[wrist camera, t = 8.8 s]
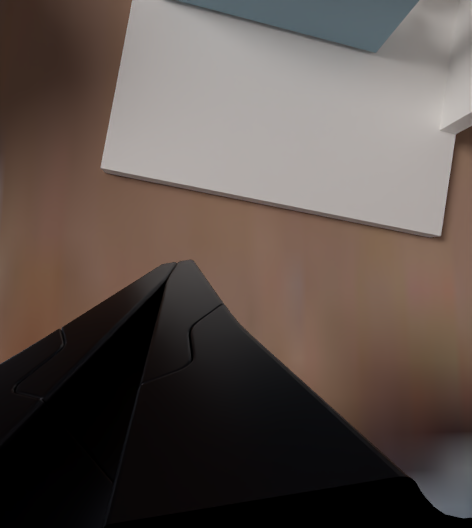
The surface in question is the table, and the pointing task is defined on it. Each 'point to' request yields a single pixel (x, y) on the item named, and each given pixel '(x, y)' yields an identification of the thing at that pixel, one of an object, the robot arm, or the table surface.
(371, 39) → the door panel
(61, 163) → the table surface
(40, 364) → the robot arm
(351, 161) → the cabinet base
